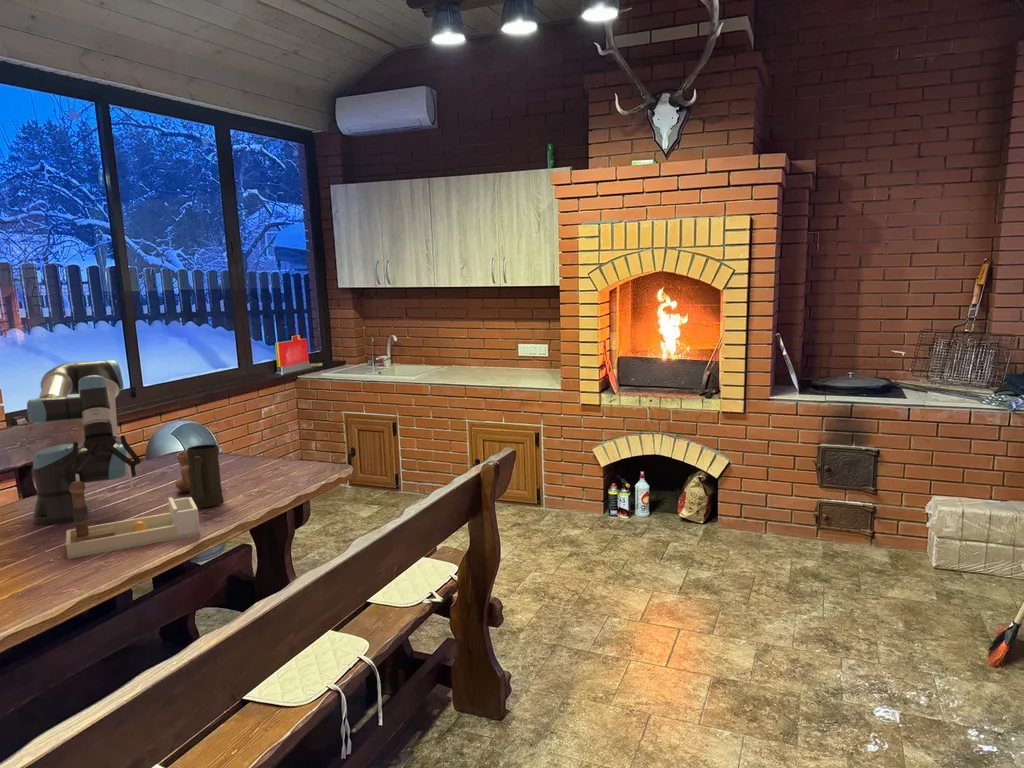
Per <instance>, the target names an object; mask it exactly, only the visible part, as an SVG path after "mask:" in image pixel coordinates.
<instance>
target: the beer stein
mask: <svg viewBox="0 0 1024 768" xmlns="http://www.w3.org/2000/svg"><path fill="white" fill-rule="evenodd" d="M186 450H187V456H188V460H189V474H190V492H189V497H192V499H193V501H194V503H195V505H196V507H197V508H208V507H213V506H217V505H221V504H222V503H223V502H225V501H224V496H223V489H222V480H221V471H220V470H221V469H220V463H219V452H220V449H219V446H218V444H200V445H194V446H190V447H187V449H186Z"/></svg>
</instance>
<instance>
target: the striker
mask: <svg viewBox="0 0 1024 768" xmlns="http://www.w3.org/2000/svg"><path fill="white" fill-rule="evenodd" d="M69 491H70V492H71V493H72V501H73V507H72V508H73V517H74V521H73V522H74V525H75V526H74V527H75V529H76V533H75V543H76V542H82V541H87V540H93V539H99V538H104V537H110V536H115V530H114V527H110V528H104V529H98V530H92V531H88V527H89V524H88V518H89V517H88V514H87V507H88V506H87V507H86V505H85V502H86V499H85V491H86V483H83V482H82V481H74V482H72V483H71V484H70V486H69Z"/></svg>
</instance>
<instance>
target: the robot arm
mask: <svg viewBox="0 0 1024 768" xmlns="http://www.w3.org/2000/svg"><path fill="white" fill-rule="evenodd" d="M124 387H125V386H124V381H123V376H122V370H121V368H120V364H119V362H118V361H116V360H111V359H110V360H108V359H107V360H106V359H104V360H95V361H80V362H79V361H78V362H66V363H63V364H60V365H58V366H56V367H53V368H52V369H50V370H49V371H47V372H46V373H45V374H44V375H43V376H42V378H41V380H40V389H41V391H40V394H39V397H36V398H32V399H28V400H27V403H26V410H27V411H26V412H27V417H28V418H27V419H28V421H29V423H31V424H36V423H37V424H38V423H39V424H44V423H51V422H52V423H53V422H61V421H62V422H63V421H73V420H74V421H76V420H82V425H83V426H84V427H83V435H84V442H77V441H74V442H73V443H65V444H64V443H63V444H58V445H54V446H49V447H46V448H44V449H41V450H39V451H37V452H36V453H35V454H34V455H33V456H32V457H33V458H32V461H33V462H32V463H33V465H32V469H33V474H34V480H35V489H36V497H37V498H36V501H35V505H34V510H33V513H32V520H33V523H34V524H36V525H41V526H51V525H53V526H54V525H60V524H61V525H62V524H66V523H70V522H75V521H74V517H73V508H72V507H73V501H72V493H71V492H70V491H69V486H70V484H71V483H72V482H74V481H82V482H83V483H84V484H87V483H95V482H103V481H113V480H117V479H122V478H125V477H126V476H127V474H128V480H129V486H130V489H134V482H133V478H135V477H136V476H137V473H136V466H137V465H140V464H141V461H142V460H141V458H140V457H139V456H138V454H137V453H136V452H135V451H134V449H132V447H131V446H130V445H129V442H127V440H126V437H125V435H123V434H122V435H120V436H119V435H118V433H119V432H118V420H117V408H116V407H117V406H116V405H117V404H116V398H117V397H118V395H119V394H120V392H121V391H123V390H124ZM129 456H130V457H131V458H132V459H130V457H129ZM85 505H86V507H87V515H88V514H89V508H88V504H87V503H86V501H85Z"/></svg>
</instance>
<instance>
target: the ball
mask: <svg viewBox="0 0 1024 768" xmlns="http://www.w3.org/2000/svg"><path fill="white" fill-rule="evenodd" d="M144 530H147V525H146V523H144V522H142V521H139V522H136V523H135V524H134V525H133V526H132V531H133V532H138V531H144Z"/></svg>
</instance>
